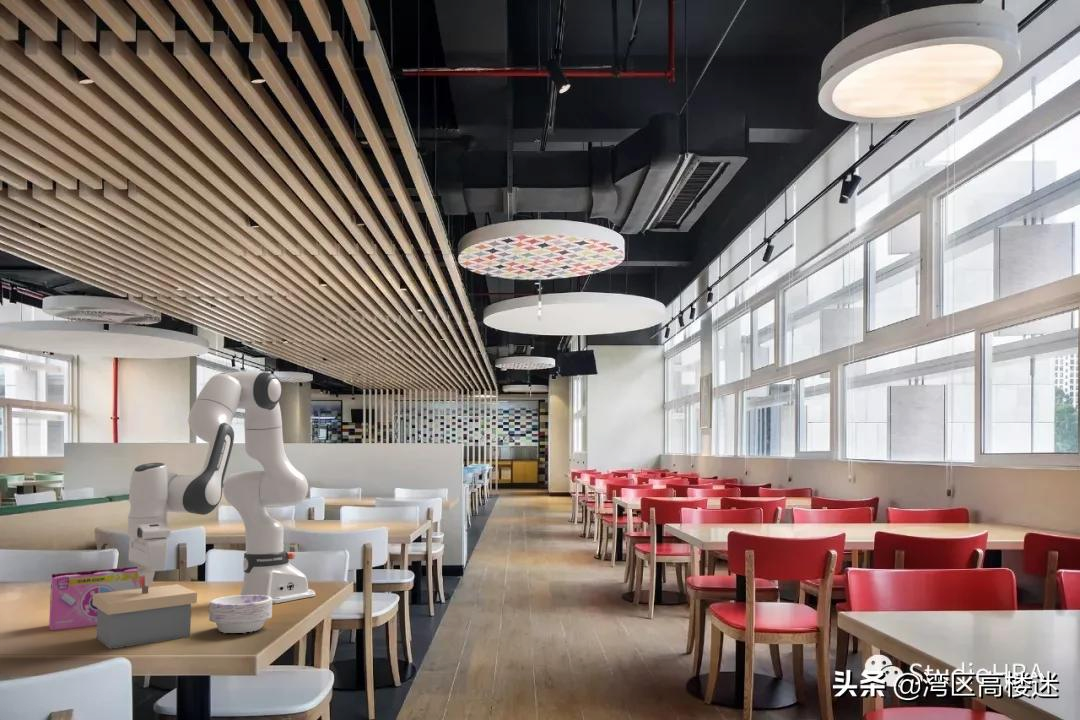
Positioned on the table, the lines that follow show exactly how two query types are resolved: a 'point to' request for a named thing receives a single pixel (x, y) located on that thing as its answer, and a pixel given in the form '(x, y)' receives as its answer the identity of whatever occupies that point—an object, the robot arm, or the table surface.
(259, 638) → the table surface
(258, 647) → the table surface
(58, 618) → the gum box
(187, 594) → the lid
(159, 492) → the robot arm
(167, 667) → the table surface
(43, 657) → the table surface
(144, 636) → the carton
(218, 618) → the paper bowls
